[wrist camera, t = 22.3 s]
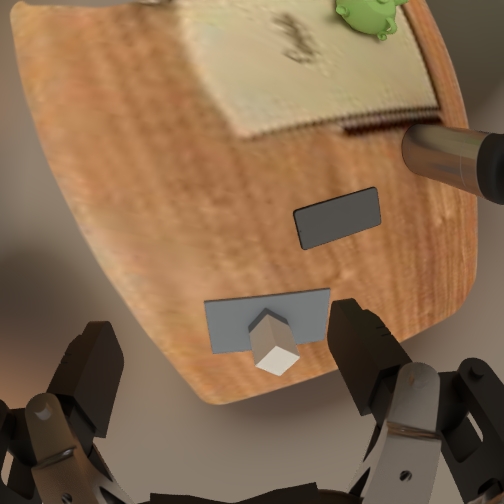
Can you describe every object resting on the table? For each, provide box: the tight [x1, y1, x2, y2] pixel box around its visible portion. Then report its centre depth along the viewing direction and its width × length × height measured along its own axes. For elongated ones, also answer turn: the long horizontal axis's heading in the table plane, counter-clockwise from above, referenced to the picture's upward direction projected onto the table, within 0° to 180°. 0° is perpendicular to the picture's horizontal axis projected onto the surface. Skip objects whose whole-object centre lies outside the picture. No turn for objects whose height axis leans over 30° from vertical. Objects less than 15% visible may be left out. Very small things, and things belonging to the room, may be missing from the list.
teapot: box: [336, 0, 409, 41], centre depth 27 cm, size 11×12×8 cm
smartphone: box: [293, 187, 381, 250], centre depth 44 cm, size 7×1×15 cm
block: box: [248, 307, 300, 376], centre depth 46 cm, size 5×5×10 cm
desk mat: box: [204, 288, 330, 354], centre depth 51 cm, size 22×12×1 cm, turn 93°
